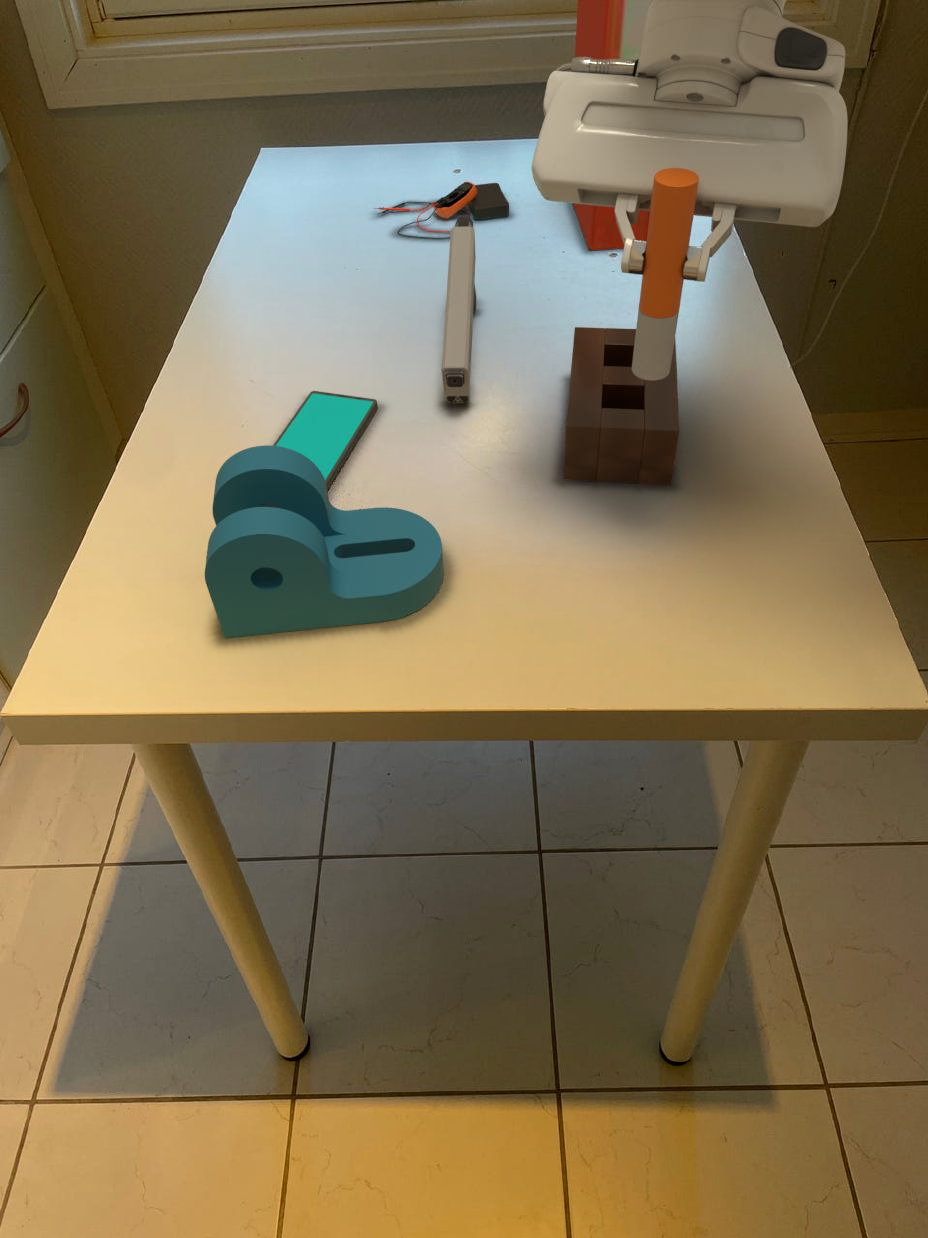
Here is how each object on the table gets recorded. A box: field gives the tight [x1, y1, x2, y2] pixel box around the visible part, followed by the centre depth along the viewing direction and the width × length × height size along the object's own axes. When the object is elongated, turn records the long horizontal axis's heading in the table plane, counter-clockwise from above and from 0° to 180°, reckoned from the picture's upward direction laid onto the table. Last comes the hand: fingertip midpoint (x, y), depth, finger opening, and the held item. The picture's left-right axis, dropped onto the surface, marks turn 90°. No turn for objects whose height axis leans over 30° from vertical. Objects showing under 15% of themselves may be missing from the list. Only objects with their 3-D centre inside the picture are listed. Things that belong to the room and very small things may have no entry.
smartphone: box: [272, 390, 378, 491], centre depth 90 cm, size 7×1×15 cm
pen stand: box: [562, 326, 681, 486], centre depth 88 cm, size 10×17×6 cm, turn 173°
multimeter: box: [374, 181, 510, 240], centre depth 122 cm, size 18×12×3 cm, turn 96°
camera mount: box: [204, 445, 445, 639], centre depth 74 cm, size 18×10×10 cm, turn 96°
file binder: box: [572, 0, 650, 251], centre depth 110 cm, size 8×17×32 cm, turn 4°
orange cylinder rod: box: [632, 168, 699, 380], centre depth 64 cm, size 3×3×14 cm
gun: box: [441, 214, 477, 405], centre depth 99 cm, size 2×25×10 cm, turn 178°
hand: (662, 274), depth 63 cm, fingers closed on orange cylinder rod, 3 cm apart
